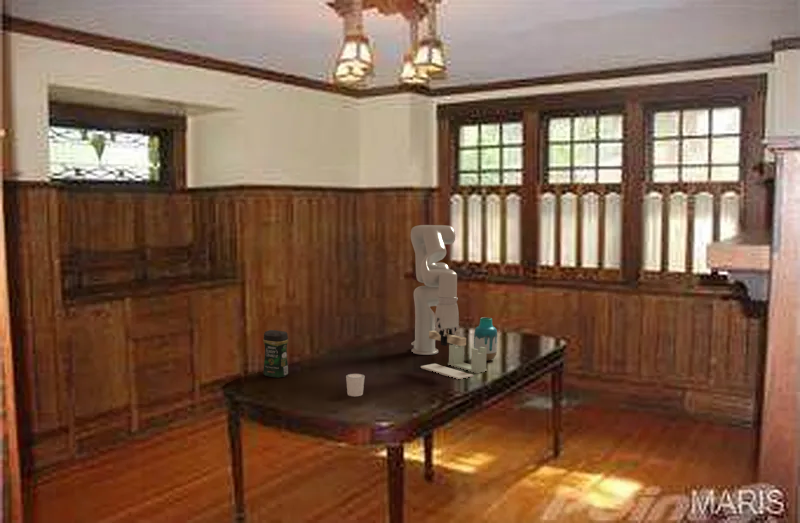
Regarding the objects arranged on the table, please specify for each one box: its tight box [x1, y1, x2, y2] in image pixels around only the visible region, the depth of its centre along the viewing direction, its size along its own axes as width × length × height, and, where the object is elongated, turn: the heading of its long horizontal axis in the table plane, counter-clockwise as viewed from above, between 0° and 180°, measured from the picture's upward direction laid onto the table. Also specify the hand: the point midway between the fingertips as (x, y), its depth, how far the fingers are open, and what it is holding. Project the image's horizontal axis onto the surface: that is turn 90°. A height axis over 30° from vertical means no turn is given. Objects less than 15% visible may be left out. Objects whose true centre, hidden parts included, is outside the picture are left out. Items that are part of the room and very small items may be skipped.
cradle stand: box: [447, 344, 488, 374], centre depth 296 cm, size 18×6×10 cm, turn 38°
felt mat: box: [420, 363, 474, 380], centre depth 289 cm, size 24×8×1 cm, turn 38°
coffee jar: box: [262, 329, 289, 379], centre depth 280 cm, size 10×8×19 cm
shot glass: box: [345, 373, 366, 397], centre depth 255 cm, size 7×7×7 cm
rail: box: [429, 331, 467, 347], centre depth 287 cm, size 20×3×3 cm, turn 38°
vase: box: [473, 316, 499, 362], centre depth 311 cm, size 11×11×19 cm
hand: (446, 344), depth 288 cm, fingers closed on rail, 2 cm apart
